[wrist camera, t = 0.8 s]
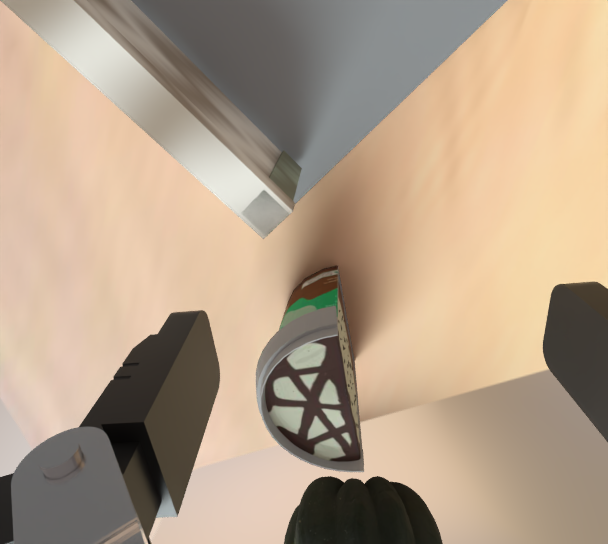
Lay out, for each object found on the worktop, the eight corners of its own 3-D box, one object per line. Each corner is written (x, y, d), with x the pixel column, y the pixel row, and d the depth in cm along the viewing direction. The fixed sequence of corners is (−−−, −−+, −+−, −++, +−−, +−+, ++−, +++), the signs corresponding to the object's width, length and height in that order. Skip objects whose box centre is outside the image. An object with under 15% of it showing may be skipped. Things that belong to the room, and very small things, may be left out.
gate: (95, 4, 23) (-23, -21, 15) (114, -27, 22) (0, -70, 14) (282, 187, 27) (263, 239, 19) (304, 166, 26) (293, 211, 19)
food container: (255, 260, 31) (225, 340, 23) (334, 248, 31) (336, 326, 22) (288, 381, 37) (275, 483, 28) (357, 374, 36) (365, 477, 27)
